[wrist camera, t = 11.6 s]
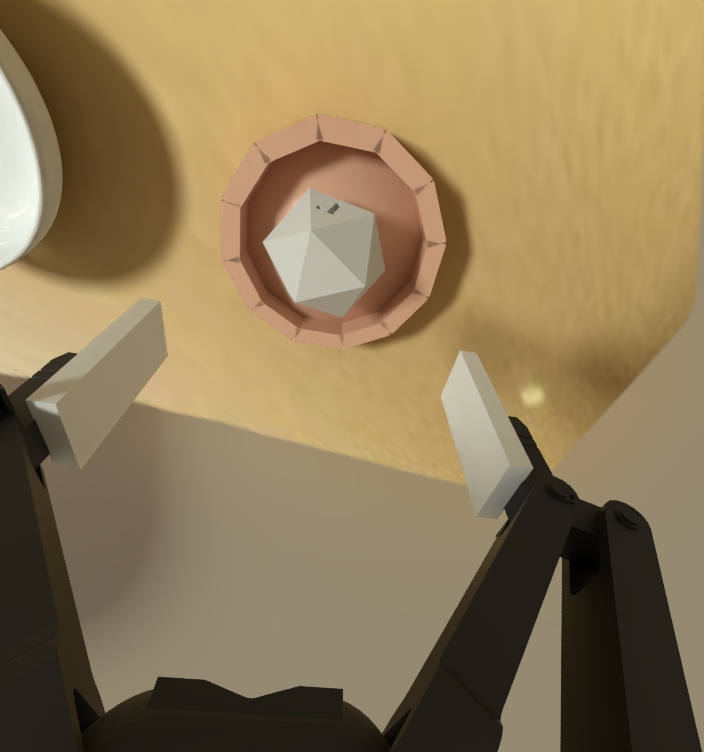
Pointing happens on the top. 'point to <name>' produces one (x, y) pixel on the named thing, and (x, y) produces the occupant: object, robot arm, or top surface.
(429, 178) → the tray
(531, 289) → the top surface
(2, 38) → the serving bowl
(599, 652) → the robot arm
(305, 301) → the die
